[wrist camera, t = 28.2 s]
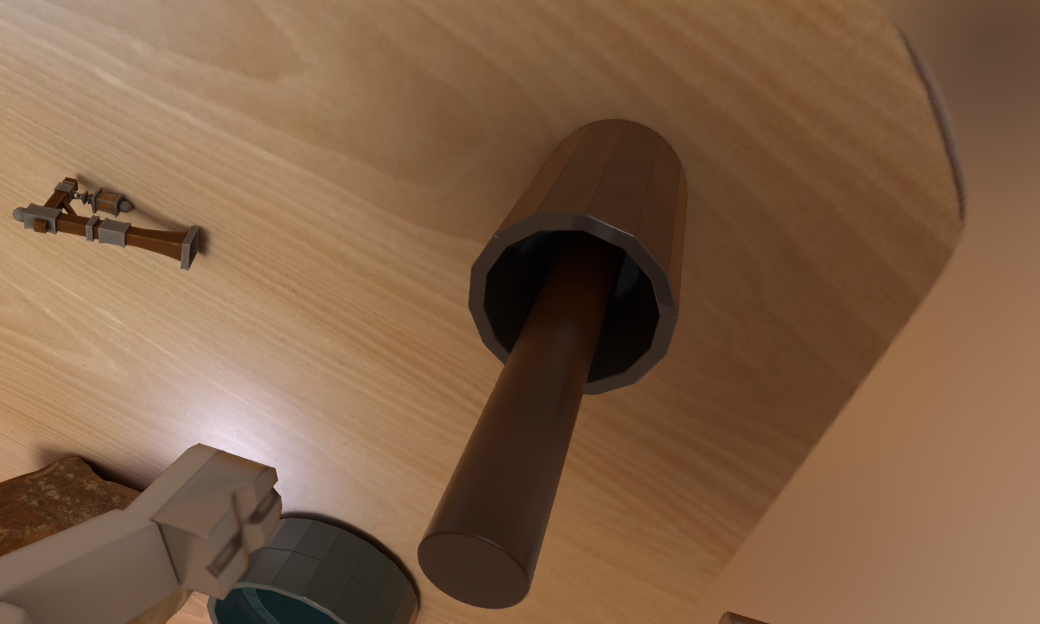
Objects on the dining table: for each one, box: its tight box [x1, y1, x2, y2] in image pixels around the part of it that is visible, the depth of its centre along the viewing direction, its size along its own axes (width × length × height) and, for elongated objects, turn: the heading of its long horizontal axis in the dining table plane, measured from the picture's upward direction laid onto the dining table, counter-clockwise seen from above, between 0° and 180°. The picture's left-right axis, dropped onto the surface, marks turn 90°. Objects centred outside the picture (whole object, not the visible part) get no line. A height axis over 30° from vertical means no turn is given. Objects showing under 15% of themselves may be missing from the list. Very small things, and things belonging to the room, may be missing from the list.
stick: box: [418, 231, 623, 609], centre depth 17 cm, size 2×2×18 cm
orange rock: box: [0, 457, 193, 624], centre depth 45 cm, size 23×17×15 cm
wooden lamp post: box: [12, 177, 199, 271], centre depth 32 cm, size 2×8×4 cm, turn 67°
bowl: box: [207, 518, 418, 624], centre depth 45 cm, size 14×14×6 cm
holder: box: [468, 120, 687, 395], centre depth 21 cm, size 6×6×10 cm
